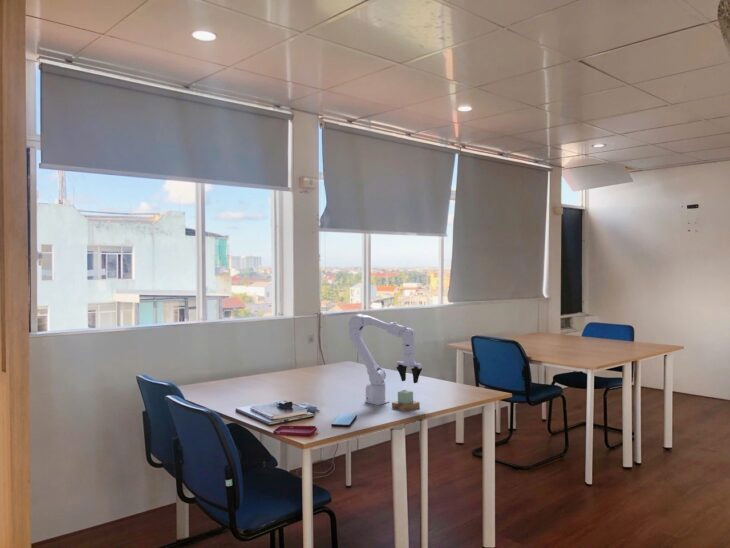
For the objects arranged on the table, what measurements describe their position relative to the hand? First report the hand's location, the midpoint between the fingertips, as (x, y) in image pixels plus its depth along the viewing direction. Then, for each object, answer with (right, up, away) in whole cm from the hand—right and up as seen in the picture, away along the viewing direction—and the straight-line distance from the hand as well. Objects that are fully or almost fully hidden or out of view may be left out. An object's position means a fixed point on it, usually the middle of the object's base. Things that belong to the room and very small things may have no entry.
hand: (409, 381), depth 277 cm
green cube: (-2, -8, -7) cm, 11 cm away
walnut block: (-2, -11, -7) cm, 14 cm away
